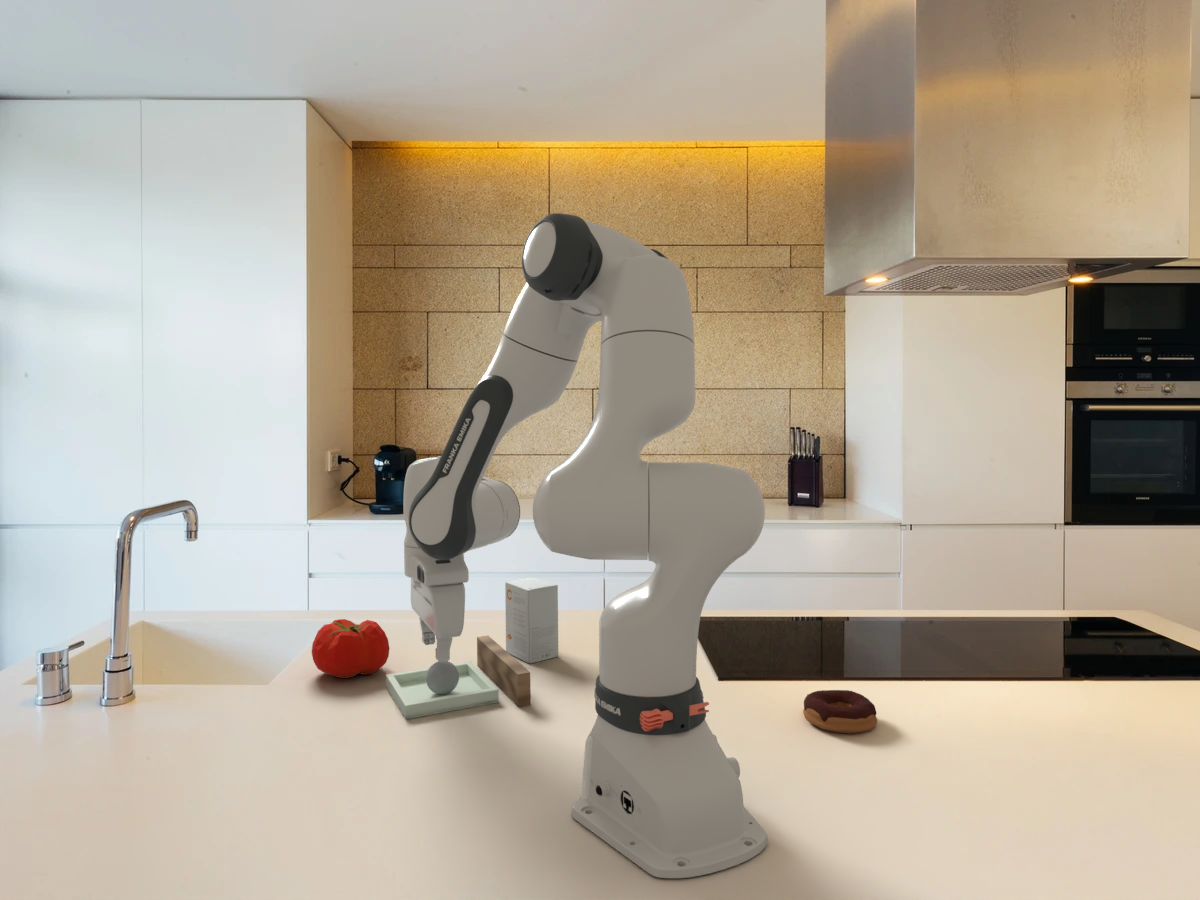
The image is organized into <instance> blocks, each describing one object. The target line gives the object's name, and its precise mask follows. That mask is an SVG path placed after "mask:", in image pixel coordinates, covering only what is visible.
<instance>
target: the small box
mask: <svg viewBox="0 0 1200 900" xmlns="http://www.w3.org/2000/svg"><path fill="white" fill-rule="evenodd" d="M504 587H505V589H504V590H505V591H504V592H505V651H507V652H508V653H509V654H510V655H511V656H512V657H514V658H518V659H519V660H521V661H523V662H525V663H527V664H534V663H539V662H542V661H546V660H551V659H555V658H557V657H559V598H558V597H559V592H558V589H559V585H558V584H556V583H553V582H549V581H547V580H543V579H541V578H538V577H535V576H534V577H533V576H531V577H526V578H520V579H513V580H507V581H505V586H504Z"/></svg>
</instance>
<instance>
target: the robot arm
mask: <svg viewBox="0 0 1200 900" xmlns="http://www.w3.org/2000/svg"><path fill="white" fill-rule="evenodd" d="M521 268H522V272H523V273H522V274H523V276H524V277H523V278H524V280H525V282H526V283H525V285H524V286H523V288H522V290H521V292H520V294H519V295H518V296H517V299H516V301H515V303H514V305H513V307H512V310H511V312H510V315H509V317H508V319H507V321H506V324H505V327H504V331H503V333H502V336H501V339H500V340H499V343H498V347H497V349H496V351H495V353H494V356H493V357H492V359H491V361H490V364H489V365H488V367H487V369H486V371H485V373H484V374H483V376H482V377H481V379H480V381H478V383H477V384H476V385H475V387H474V389H473V390H472V392H471V393H470V394H469V396H468V398H467V399H466V402H465V404H464V406H463V408H462V409H461V410H462V411H461V412H460V414H459V417H458V419H457V420H456V423H455V425H454V426H453V429H452V432H451V435H450V436H449V438H448V441H447V443H446V444H445V447H444V449H443V452H442V453H441V455H439V456H434V457H426V458H421V459H417V460H415V461H413V462H412V463H411V464H409V466H408V467H407V469H406V473H405V478H404V485H403V510H402V511H403V518H404V522H405V526H406V533H405V536H404V540H403V548H404V549H403V552H404V553H403V554H404V555H403V558H404V576H405V577H408V578H410V605H411V606H410V607H411V609H412V611H414V612H415V613H416V615H417V616H418V618H419V624H420V630H421V641H422V643H424V645H425V646H429V645H434V644H435V643H436V648H435V659H436V660H437V662H447V661H448V662H450V659H451V658H450V657H451V656H450V655H451V653H450V652H451V651H450V650H451V647H452V643H453V638H457V637H461V636H462V633H463V629H464V624H465V611H466V610H465V608H466V587H465V584H464V583H468V582H469V579H470V578H469V575H470V574H469V568H468V566H467V564H466V562H465V553H467V552H468V551H473V550H476V549H479V548H483V547H486V546H488V545H492V544H495V543H499V542H501V541H503V540H505V539H507V538H509V537H510V536H512V535H513V534H514V533H515V531H516V529H517V528H518V525H519V522H520V519H521V506H520V502H519V499H518V496H517V495H516V493H515V491H514V490H513V489H512V488H511V486H510V485H509V484H507V483H506V482H504V481H501V480H496V479H492V478H491V477H488V476H484V475H485V474H486V472H487V469H488V467H489V466H490V465H489V464H490V463H491V461H492V458H493V457H494V453H495V452H496V449H497V447H498V445H499V443H500V442H501V440H503V438H504V437H505V435H507V433H509V432H510V430H512V429H513V428H514V427H516V426H517V425H518V424H519V423H522V422H523V421H524V420H526V419H527V418H529V417H531V416H533V415H535V414H538V413H540V412H541V411H543V410H546V409H548V408H549V407H551V406H552V405H554V404H555V403H557V402H558V400H559V399H560V398H561V396H562V395H563V393H564V391H566V388H567V387H568V385H569V383H570V381H571V379H572V376H573V374H574V371H575V369H576V366H577V364H578V360H579V358H580V354H581V351H582V348H583V346H584V341H585V339H586V337H587V334H588V331H589V330H590V329H591V327H592V326H594V325H595V324H596V323H599V322H601V328H600V361H599V362H600V363H599V364H600V365H599V382H598V394H597V403H596V408H595V411H594V416H593V418H592V421H591V424H590V426H589V428H588V430H587V432H586V433H585V435H584V437H583V439H582V440H581V441H580V443H579V444H578V445H577V447H576V448H575V449H574V451H573V452H571V454H570V455H569V456H567V457H566V458H565V459H564V460H563V461H562V462H561V463H559V464H558V465H557V466H555V467H553V468H552V469H551V470H550V471H549V472H547V474H546V475H545V476H544V477H543V479H542V480H541V481H540V482H539V485H538V487H537V489H536V492H535V494H534V498H533V503H532V517H533V524H534V528H535V530H536V532H537V535H538V537H539V538H540V540H541V541H542V543H543V544H544V545H545V547H546V548H547V549H548V550H549V551H550V552H552V553H556V554H559V555H565V556H570V557H575V558H580V559H586V560H591V561H592V560H593V561H595V560H596V561H597V560H598V561H599V560H602V561H603V560H605V561H606V560H609V561H612V560H614V561H617V560H618V561H619V560H620V561H648V562H653V563H654V564H655V565H654V569H653V571H652V573H651V574H650V576H649V577H648V578H647V579H646V580H644V581H643V582H640V583H639V584H637V585H636V586H634V587H631V588H629V589H626V590H624V591H622V592H621V593H619V594H618V595H616V596H615V597H613V598H612V599H611V600H610V601H609V602H608V603H606V605H605V606H604V608H603V610H602V612H601V615H600V616H599V617H600V618H599V625H598V626H599V627H598V632H599V634H598V636H599V637H598V641H599V643H598V649H599V650H598V651H599V653H598V656H599V657H598V659H599V660H598V662H599V665H598V666H599V667H598V668H599V670H598V671H599V674H598V675H597V676H596V679H595V687H594V700H595V704H594V709H595V711H596V713H597V716H596V719H595V722H594V725H593V727H592V729H591V731H590V732H589V734H588V735H587V738H586V740H585V743H584V757H583V771H582V772H583V773H582V783H581V784H582V785H581V786H582V787H581V796H579V798H577V799H576V800H575V801H574V802H573V804H572V806H571V817H572V818H573V819H574V820H575V821H577V822H578V823H580V824H581V825H582V826H583V827H585V828H586V829H588V830H589V831H590V832H592V833H593V834H595V835H596V836H597V837H599V838H600V839H601V840H603V841H604V842H606V843H607V844H608V845H610V846H611V847H612V848H614V849H615V850H616V851H618V852H620V854H622V855H623V856H624V857H626V858H627V859H628V860H630V861H632V862H633V863H634V864H635V865H637V866H638V867H640V868H641V869H642V870H644V871H645V872H646V873H647V874H649V875H651V876H653V877H656V878H658V879H659V878H663V879H684V878H694V877H700V876H704V875H708V874H712V873H716V872H720V871H723V870H726V869H729V868H732V867H734V866H735V867H736V866H737V865H740V864H742V863H745V862H747V861H749V860H751V859H752V858H754V857H756V856H757V855H758V854H760V853H761V852H762V851H763V850H765V848H766V847H767V845H768V834H767V833H766V831H765V830H764V828H763V827H762V825H760V824H759V822H758V820H756V818H755V817H753V816H752V814H751V813H750V812H749V811H748V810H747V808H746V807H745V806H744V805H745V804H744V794H743V787H742V784H741V781H740V777H741V776H740V775H741V766H740V763H739V762H738V760H737V758H735V757H732V756H731V757H727V756H726V754H725V752H724V751H723V749H722V747H721V746H720V743H719V742H718V737H717V736H716V735H715V734H714V733H713V732H712V730H711V728H710V726H709V724H708V723H707V720H706V717H707V713H710V710H709V709H706V707H708V706H709V705H710V702H708V701H706V702H705V701H704V694H703V693H704V692H703V691H702V689H701V683H700V680H699V678H698V677H697V654H698V653H697V652H698V642H699V641H698V639H699V629H700V621H701V615H702V611H703V608H704V605H705V603H706V600H707V597H708V596H709V594H710V592H711V590H712V588H713V586H714V585H715V583H716V582H717V580H718V579H719V578H720V577H721V575H722V574H723V573H724V572H725V571H726V570H727V569H728V568H729V567H730V566H731V565H732V564H733V563H734V562H736V561H737V560H739V559H740V558H741V557H742V556H744V555H746V554H747V553H748V552H749V551H751V549H752V547H754V545H755V544H756V543H757V541H758V539H759V537H760V535H761V534H762V531H763V527H764V524H765V523H764V522H765V518H766V517H765V516H766V512H765V511H766V509H765V507H766V506H765V502H764V501H765V500H764V498H763V494H762V492H761V490H760V488H759V485H758V484H757V482H756V481H755V479H754V478H753V477H752V476H751V475H750V474H749V473H748V471H746V470H744V469H741V468H735V467H731V466H726V465H722V464H715V463H710V462H681V461H680V462H672V461H670V462H669V461H668V462H666V461H665V462H654V461H653V462H651V461H650V462H648V461H645V460H642V458H641V457H640V456H641V452H642V451H643V450H644V448H645V446H646V445H647V444H649V443H650V442H652V441H653V440H655V439H657V438H659V437H661V436H663V435H665V434H667V433H670V432H672V431H673V430H675V429H676V428H679V427H680V426H681V425H683V424H684V423H685V422H686V421H687V420H688V418H690V416H691V415H692V413H693V411H694V408H695V404H696V371H695V370H696V366H695V365H696V363H695V359H696V358H695V331H694V329H695V328H694V317H693V313H692V312H693V311H692V303H691V299H690V294H689V289H688V285H687V280H686V277H685V275H684V274H685V273H684V272H683V271H682V269H681V268H680V267H679V266H678V265H677V264H676V263H675V262H674V261H672V260H670V259H669V258H668V257H667V256H665V254H663V253H662V252H660V251H659V250H657V249H654V248H649V247H648V246H646V245H644V244H643V243H640V242H638V241H637V240H635V239H633V238H631V237H629V236H627V235H624V233H622V232H621V231H619V230H615V229H613V228H611V227H608V226H605V225H601V224H598V223H594V222H590V221H588V220H587V221H586V220H584V218H582V217H580V216H578V215H573V214H568V213H560V212H559V213H558V212H557V213H555V212H554V213H550V214H546V215H545V216H544V217H543V218H541V219H540V220H539V221H538V222H537V223H535V225H534V226H533V227H532V228H531V230H530V231H529V233H528V235H527V237H526V238H525V242H524V245H523V248H522V253H521Z"/></svg>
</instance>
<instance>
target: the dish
mask: <svg viewBox="0 0 1200 900" xmlns="http://www.w3.org/2000/svg"><path fill="white" fill-rule="evenodd" d="M452 664H453V665H455V667H456V668H457V670H458V673H459V681H458V684H457V686H456V687H455V689H454V690H453V691H451V692H450V693H447V694H443V695H440V694H436V693H434V692H432V691H431V690H430V689H429V687H428V686H427V683H426V674H427V671H428V670H429V668H430V667H426V668H425V667H424V668H419V669H414V670H407V671H402V672H394V673H388V674H385V688H386V689H387V691H388V692H389V694H390V695H391V697H392V700H393V701H394V702H395V704H396V705H397V707H398V709H399V711H400V712H401V714H402V716H403V717H404V719H405V720H408V719H414V718H420V717H426V716H432V715H437V714H443V713H447V712H452V711H453V712H454V711H459V710H464V709H469V708H476V707H480V706H481V707H482V706H486V705H492V704H498V703H499V702H500V701H499V699H500V698H499V691H500V689H499V687H498V686H497V685H496V684H495V683H494V682H493V681H492V680H491V679H490V678H489V677H488V676H487V675H486V674H485V673H484V672H483V671H482V670H481V669H480V668H479V667H478V666H476V665H475V664H474V663H473V662H472V661H471V660H470V661H466V662H459V663H458V662H457V663H452ZM497 687H498V688H497Z"/></svg>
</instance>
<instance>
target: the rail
mask: <svg viewBox="0 0 1200 900" xmlns="http://www.w3.org/2000/svg"><path fill="white" fill-rule="evenodd" d="M476 659H477V660H476V662H477V666H476V667H477V668H478V669H479V670H480V671H481V672H482V673H483V674H484V675H485V676H486V677H487V678H488V679H489V680H490V681H491V682H492V683H493V684H494V685H495V686H496V687H498V689H499V690H501V692H502V693H503V694H505V695H506V696H507V698H508V699H509V700H511V701H512V703H513V704H514V705H515V706H516V707H518V708H521V707H527V706H530V705H532V704H531V699H532V698H531V672H530V671H529V669H527V668H526V667H525V666H524V665H523V664H521V662H519V661H518V660H517V659H516V657H514V656H513V655H511V654H509V653H508V652H507V651H506V649H505V648H503V647H502V646H501V645H500V644H499V643H498V642H497V641H495V640H494V639H493V638H492V637H490V636H489V635H481V636H476Z"/></svg>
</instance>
